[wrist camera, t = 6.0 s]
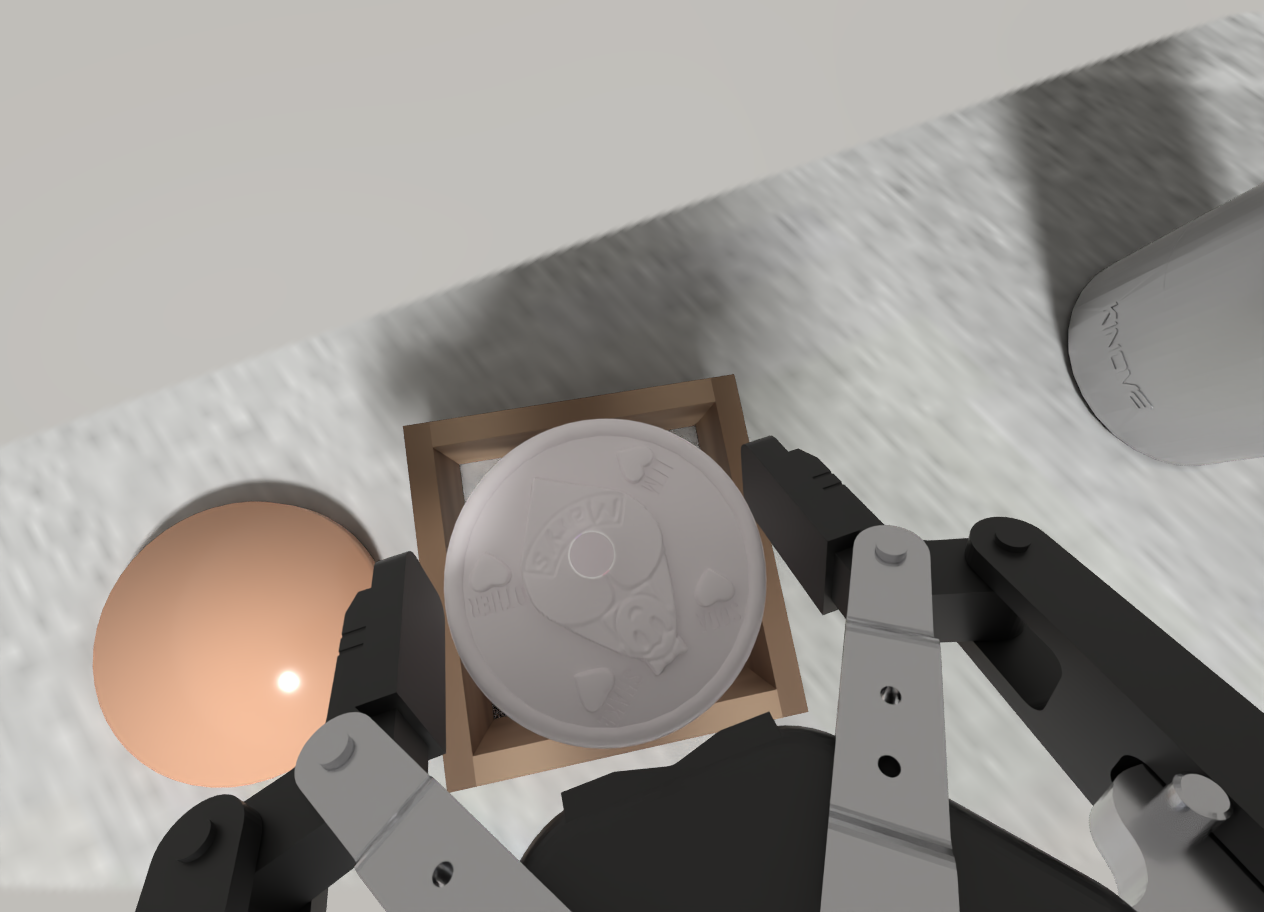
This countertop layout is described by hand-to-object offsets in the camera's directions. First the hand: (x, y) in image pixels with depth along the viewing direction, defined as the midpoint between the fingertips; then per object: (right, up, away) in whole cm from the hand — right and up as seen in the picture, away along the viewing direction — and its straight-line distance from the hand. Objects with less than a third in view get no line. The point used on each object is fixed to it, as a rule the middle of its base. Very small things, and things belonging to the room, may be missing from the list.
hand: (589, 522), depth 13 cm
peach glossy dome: (-12, -5, +6) cm, 14 cm away
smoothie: (0, -2, +7) cm, 8 cm away
